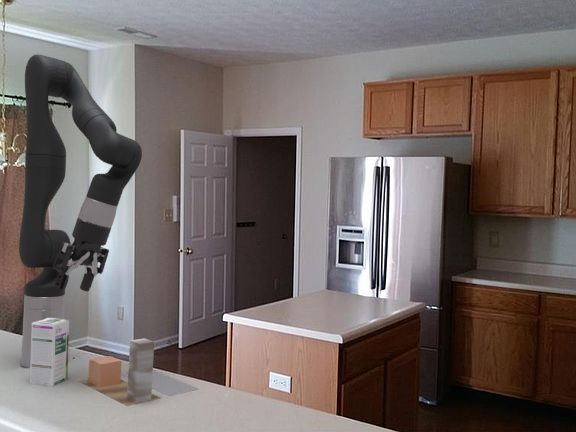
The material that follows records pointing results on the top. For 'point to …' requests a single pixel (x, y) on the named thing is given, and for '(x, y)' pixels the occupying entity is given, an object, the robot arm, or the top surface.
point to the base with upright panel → (133, 376)
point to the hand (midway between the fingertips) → (71, 290)
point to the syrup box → (49, 351)
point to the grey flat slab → (167, 384)
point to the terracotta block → (104, 371)
